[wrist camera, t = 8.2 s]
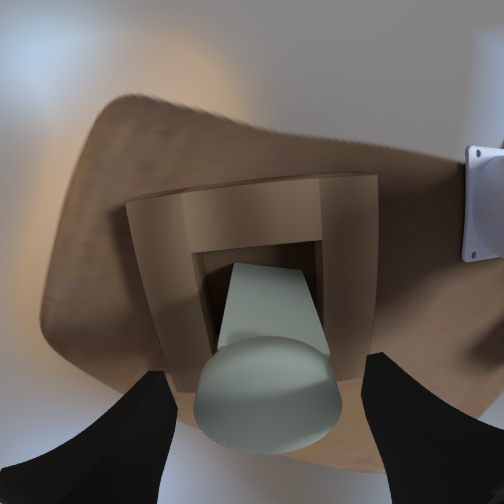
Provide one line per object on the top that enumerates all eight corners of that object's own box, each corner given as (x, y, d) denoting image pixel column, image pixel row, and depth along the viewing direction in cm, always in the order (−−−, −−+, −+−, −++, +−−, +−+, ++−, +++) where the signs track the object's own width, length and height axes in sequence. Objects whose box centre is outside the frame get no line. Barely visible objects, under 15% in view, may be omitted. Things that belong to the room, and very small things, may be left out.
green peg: (313, 261, 17) (361, 367, 8) (297, 335, 19) (320, 455, 10) (224, 251, 17) (192, 354, 8) (218, 327, 19) (194, 447, 10)
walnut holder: (360, 171, 16) (377, 175, 13) (356, 353, 20) (366, 376, 17) (142, 195, 16) (125, 202, 14) (184, 369, 20) (177, 392, 18)
